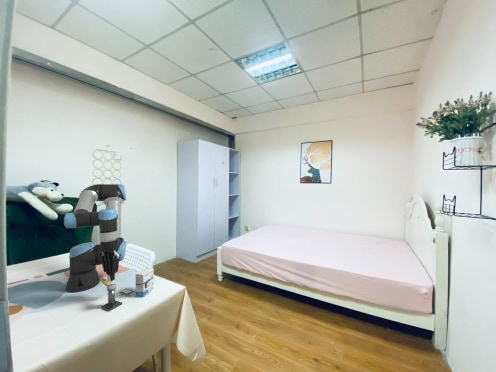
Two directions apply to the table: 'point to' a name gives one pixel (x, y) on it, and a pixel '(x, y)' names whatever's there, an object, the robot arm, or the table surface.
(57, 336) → the table surface
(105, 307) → the grey square fixture
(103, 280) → the swing arm
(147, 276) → the ink box
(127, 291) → the label tile
